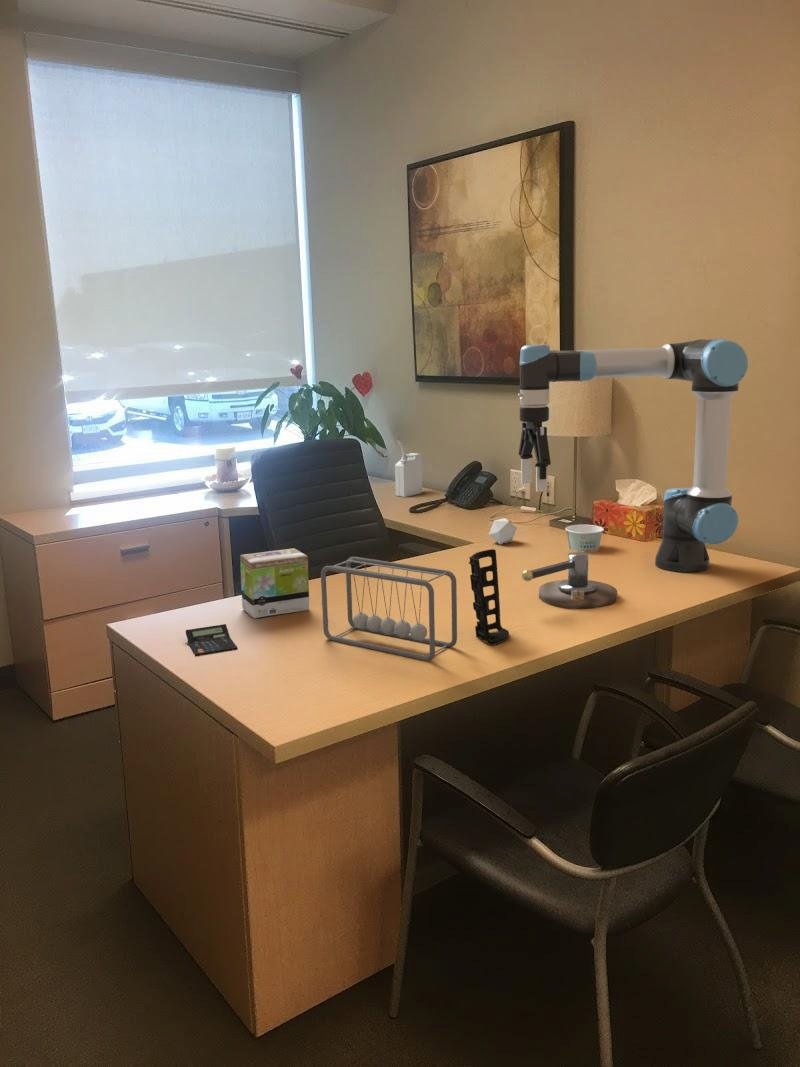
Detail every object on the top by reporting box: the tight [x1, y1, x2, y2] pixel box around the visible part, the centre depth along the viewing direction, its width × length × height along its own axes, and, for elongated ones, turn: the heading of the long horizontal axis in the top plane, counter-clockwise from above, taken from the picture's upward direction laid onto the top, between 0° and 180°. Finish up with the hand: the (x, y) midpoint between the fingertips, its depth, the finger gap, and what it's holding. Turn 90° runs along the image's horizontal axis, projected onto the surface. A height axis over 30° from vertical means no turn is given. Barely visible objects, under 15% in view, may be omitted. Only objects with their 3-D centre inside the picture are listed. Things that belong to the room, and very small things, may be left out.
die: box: [488, 517, 517, 545], centre depth 290 cm, size 8×9×10 cm
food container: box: [564, 524, 605, 552], centre depth 280 cm, size 12×12×6 cm
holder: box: [468, 548, 510, 646], centre depth 199 cm, size 11×8×20 cm
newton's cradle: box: [320, 556, 458, 662], centre depth 197 cm, size 30×10×18 cm, turn 56°
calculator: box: [185, 623, 239, 657], centre depth 201 cm, size 9×12×3 cm
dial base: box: [538, 579, 618, 610], centre depth 229 cm, size 20×20×4 cm
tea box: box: [239, 547, 310, 619], centre depth 224 cm, size 15×10×15 cm
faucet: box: [521, 551, 598, 594], centre depth 223 cm, size 25×10×9 cm, turn 128°
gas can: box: [394, 439, 423, 498], centre depth 377 cm, size 15×5×25 cm, turn 141°
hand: (533, 487), depth 231 cm, fingers open, 13 cm apart
